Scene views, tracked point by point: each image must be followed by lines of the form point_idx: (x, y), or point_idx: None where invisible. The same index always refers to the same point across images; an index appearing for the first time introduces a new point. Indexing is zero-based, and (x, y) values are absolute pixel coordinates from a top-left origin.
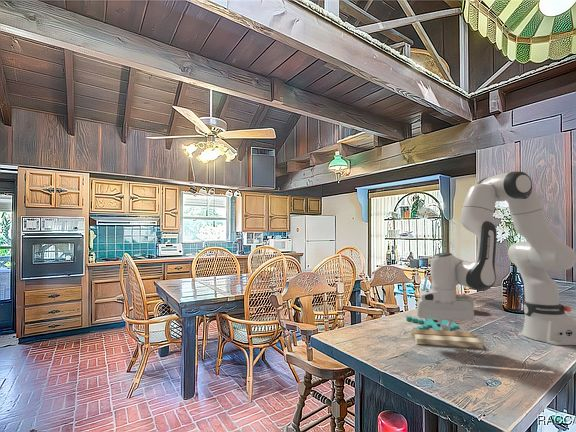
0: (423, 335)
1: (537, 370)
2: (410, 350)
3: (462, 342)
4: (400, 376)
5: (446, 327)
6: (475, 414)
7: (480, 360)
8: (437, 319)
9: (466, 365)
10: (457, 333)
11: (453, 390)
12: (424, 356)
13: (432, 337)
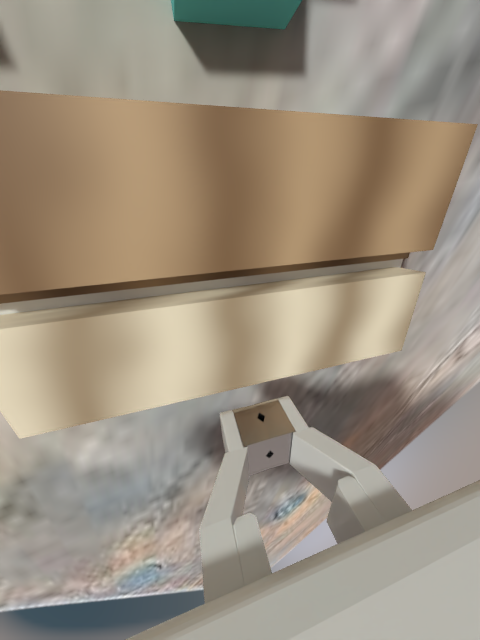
0: (58, 343)
1: (415, 415)
2: (32, 460)
3: (314, 366)
4: (68, 597)
5: (273, 458)
6: None
7: (315, 421)
8: (203, 565)
9: None
10: (355, 196)
11: None
12: (119, 479)
13: (144, 368)
